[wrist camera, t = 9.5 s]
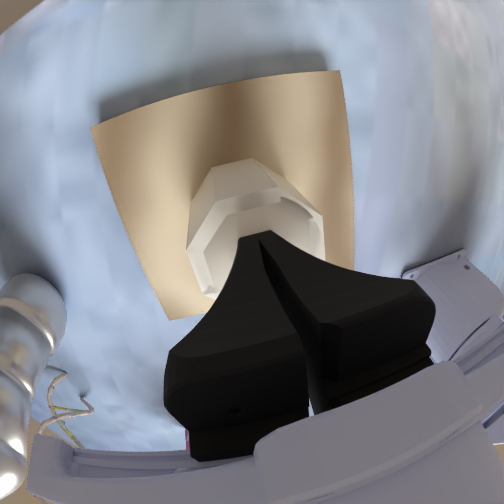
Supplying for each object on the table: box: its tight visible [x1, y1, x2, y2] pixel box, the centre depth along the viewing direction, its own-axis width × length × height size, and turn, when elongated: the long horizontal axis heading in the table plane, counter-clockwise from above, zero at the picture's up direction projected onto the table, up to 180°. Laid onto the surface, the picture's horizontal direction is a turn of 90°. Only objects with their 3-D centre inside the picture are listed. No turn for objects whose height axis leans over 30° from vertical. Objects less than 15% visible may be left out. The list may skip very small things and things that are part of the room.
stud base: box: [90, 70, 354, 321], centre depth 15 cm, size 14×14×6 cm
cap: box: [186, 158, 325, 300], centre depth 13 cm, size 5×6×6 cm
